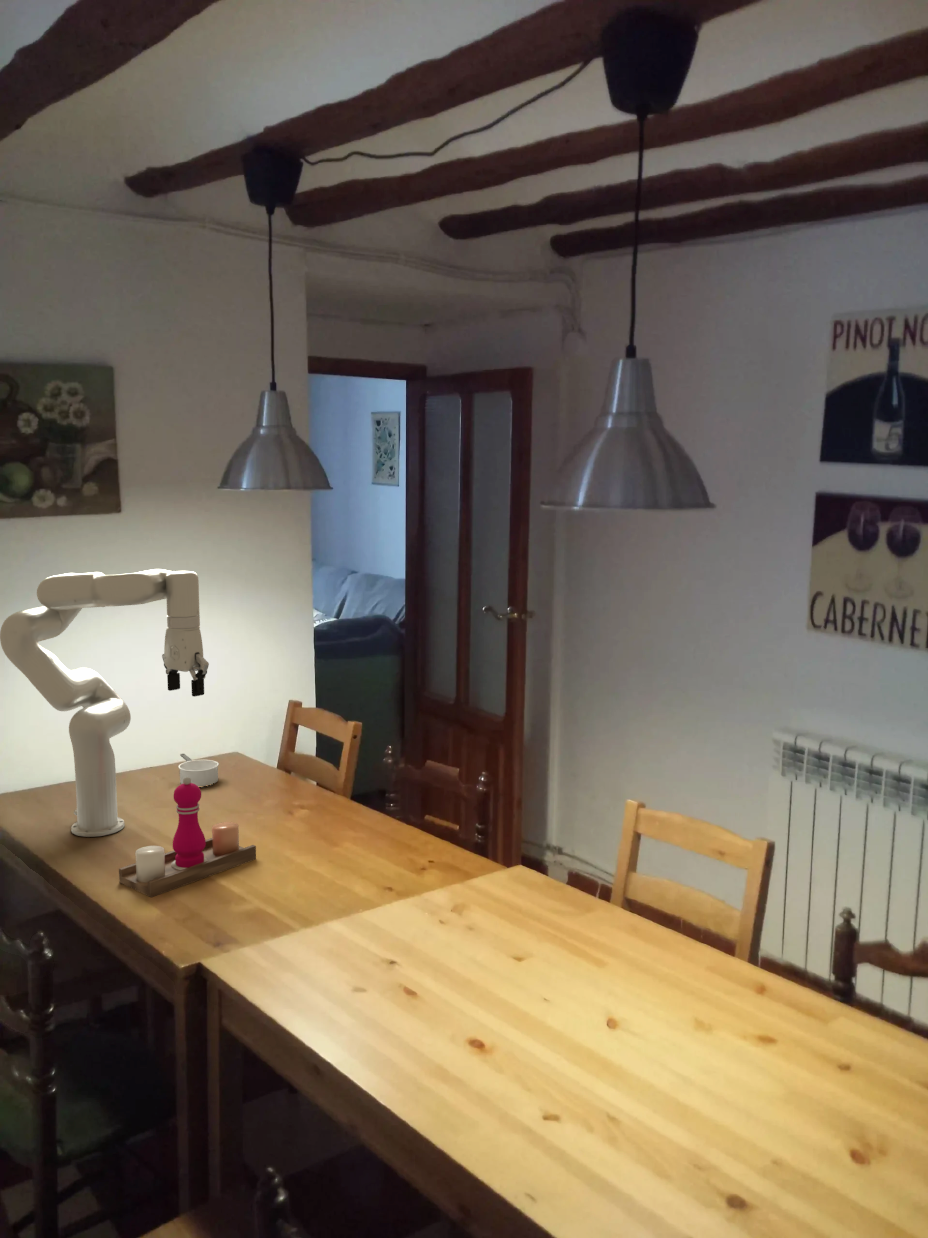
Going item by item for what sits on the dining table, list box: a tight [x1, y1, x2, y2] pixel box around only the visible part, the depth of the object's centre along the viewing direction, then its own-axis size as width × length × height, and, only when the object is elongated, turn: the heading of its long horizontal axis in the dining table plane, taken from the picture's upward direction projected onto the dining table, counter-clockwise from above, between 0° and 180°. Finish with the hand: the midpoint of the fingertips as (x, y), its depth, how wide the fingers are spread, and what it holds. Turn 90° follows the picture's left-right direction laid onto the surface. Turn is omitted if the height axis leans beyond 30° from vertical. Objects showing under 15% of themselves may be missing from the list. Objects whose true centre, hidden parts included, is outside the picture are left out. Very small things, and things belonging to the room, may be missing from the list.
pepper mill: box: [172, 777, 206, 868], centre depth 224 cm, size 7×7×20 cm
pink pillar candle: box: [211, 821, 240, 856], centre depth 233 cm, size 6×6×6 cm
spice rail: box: [118, 837, 257, 898], centre depth 225 cm, size 12×28×3 cm, turn 141°
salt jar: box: [135, 845, 165, 883], centre depth 217 cm, size 6×6×6 cm
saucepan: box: [177, 753, 220, 786], centre depth 292 cm, size 12×20×6 cm, turn 35°
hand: (185, 692), depth 242 cm, fingers open, 9 cm apart
